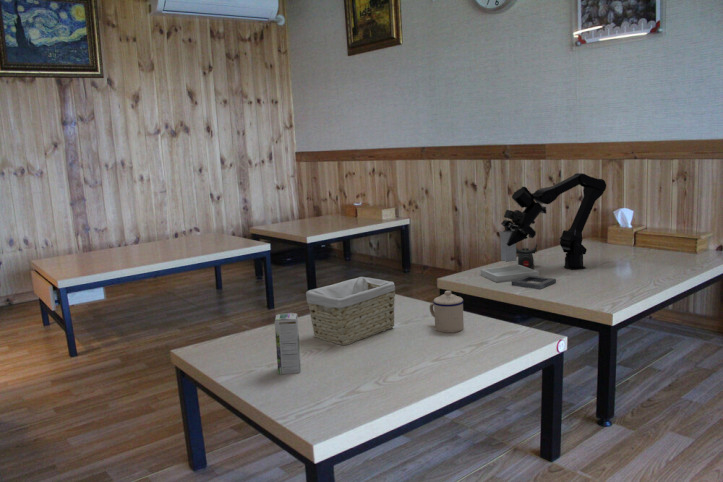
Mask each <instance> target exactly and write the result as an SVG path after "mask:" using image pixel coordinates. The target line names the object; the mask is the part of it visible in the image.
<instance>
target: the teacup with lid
mask: <svg viewBox="0 0 723 482" xmlns="http://www.w3.org/2000/svg"><path fill="white" fill-rule="evenodd" d="M464 303H465V302H464V299H463V298H462V297H461V296H457V295H456V294H453V293H452V290H446V291H444V294H441V295H440V296H437V297H435V298H434V299H433V302H431V303H430V305H429V312H430V314H431V316H432V317H433V318H434V328H435V331H438V332H440V333H447V334H448V333H451V334H452V333H457V332H460V331H462V330H464V328H465V327H464V323H465V322H464Z"/></svg>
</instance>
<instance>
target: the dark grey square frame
mask: <svg viewBox="0 0 723 482" xmlns="http://www.w3.org/2000/svg"><path fill="white" fill-rule="evenodd" d="M535 282H536V283H535ZM556 283H557V279H556V278H553V277H545V276H544V277H542V276H538V277H537V276H529V275H528V276H525V277H522V278H519V279H517V280H514V281H511V286H512V287H513V286H514V287H521V288H528V287H529V288H530V289H536V290H542V289H544V288H546V287H549V286H551V285H554V284H556Z"/></svg>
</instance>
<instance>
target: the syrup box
mask: <svg viewBox="0 0 723 482" xmlns="http://www.w3.org/2000/svg"><path fill="white" fill-rule="evenodd" d="M298 316H299V315H298V313H296V312H295V313H294V312H288V313H287V312H286V313H279V314H276V315H275V320H274V332H275V334H274V335H275V345H276V346H275V350H276V361H277V374H278V375H288V374H290V375H291V374H299V373H301V367H302V365H301V364H302V363H301V351H300V350H301V349H300V348H301V347H300V334H299V331H300V330H299V320H298V319H299V318H298Z"/></svg>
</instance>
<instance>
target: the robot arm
mask: <svg viewBox="0 0 723 482" xmlns="http://www.w3.org/2000/svg"><path fill="white" fill-rule="evenodd" d="M577 186H581V187H583V189H582V192H583V197H582V201H581V203H580V205H579V207H578V209H577V212H576V214H575V217H574V219H573V221H572V223H571V226H570V227H569V229H567V230H565V229H564V230H563V231H562V233H561V236H560V237H559V244H560V245H559V246H560V247H561V249H562V251H563V253H565V257H564V265H563V268H567V269H570V270H578V269H585V268H586V266H585V265H584V255H586V254H587V251H588V250H587V248H586V247H585V246H584V245H583V240H584V239H583V231H584V228H585V227H586V224H587V222H588V219H589V217H590V215H591V211H592V210H593V208H594V206H595V203H596V201H597V200H599V198H601V196H602V195H603V194H604V192H605V191H606V189H607V183H606V180H604V179H603V178H596V177H593V176H589V175H588V174H585V173H580V172H576V173H574V174H573V175H571V176H569V177H568V178H566V179H564V180H562V181H559V182H558V183H556V184H554V185H552V186H548V187H543V188H540V189H536V190H535V192H533V193H531V192H530V190H529V189H528V188H527V187H526V186H521V187H520V188H519V189H517V190H516V191H514V192H513V194H512V196H511V199H512V200H513V201H514V202H515V203H517V205H518V206H519V207H521V208H523V210H522V211H521V210H519V209H515V210H509V209H506V211H505V212H504V216H503V217H504V218H505V219H504V220H503V221H501V225H502V227H504V228H505V229H504V230H505V231H506V230H512V231H515V232H514V235H513V236H512V238H511V239H510V241H509V242H508V244H507V245H508V246H511V245H513V244H515V243H516V244H517V243H520V242H522V241H524V240H526V239H528V238H529V239H534V238H535V237H536V235H537V232H536V230H535V229H533V227H532V226H531V225H534V224H535V223H536V221H535V220H536V219H537V217H538V216H539V215H540V214H547V207H546V206H544V205H550V204H552V203H553V202H554V201H555V200H557V198H558V197H560V195H562V194H564V193H566V192H568V191H569V190H571V189H573V188H575V187H577Z"/></svg>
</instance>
